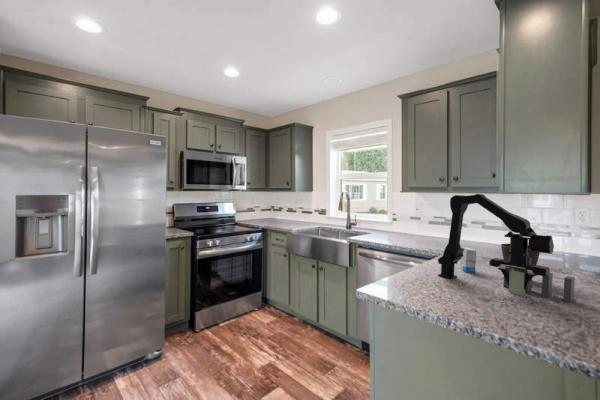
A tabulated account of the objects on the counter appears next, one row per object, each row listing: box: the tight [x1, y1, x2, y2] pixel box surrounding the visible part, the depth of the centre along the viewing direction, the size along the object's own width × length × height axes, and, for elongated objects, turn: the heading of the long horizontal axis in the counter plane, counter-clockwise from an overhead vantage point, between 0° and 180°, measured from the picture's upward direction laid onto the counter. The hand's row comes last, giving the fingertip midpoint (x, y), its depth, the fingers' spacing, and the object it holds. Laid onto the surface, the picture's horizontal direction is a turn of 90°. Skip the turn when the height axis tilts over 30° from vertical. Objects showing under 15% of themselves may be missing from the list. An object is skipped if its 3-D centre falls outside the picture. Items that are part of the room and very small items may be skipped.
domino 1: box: [503, 267, 514, 289], centre depth 124 cm, size 5×2×9 cm, turn 126°
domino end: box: [563, 275, 576, 304], centre depth 108 cm, size 5×2×9 cm, turn 126°
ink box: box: [459, 246, 477, 274], centre depth 149 cm, size 9×5×12 cm, turn 168°
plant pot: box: [500, 243, 541, 272], centre depth 135 cm, size 15×15×16 cm
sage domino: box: [508, 270, 526, 297], centre depth 115 cm, size 2×5×9 cm, turn 36°
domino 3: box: [541, 272, 553, 298], centre depth 113 cm, size 5×2×9 cm, turn 126°
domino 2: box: [522, 270, 533, 294], centre depth 118 cm, size 5×2×9 cm, turn 126°
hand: (517, 287), depth 115 cm, fingers closed on sage domino, 5 cm apart
